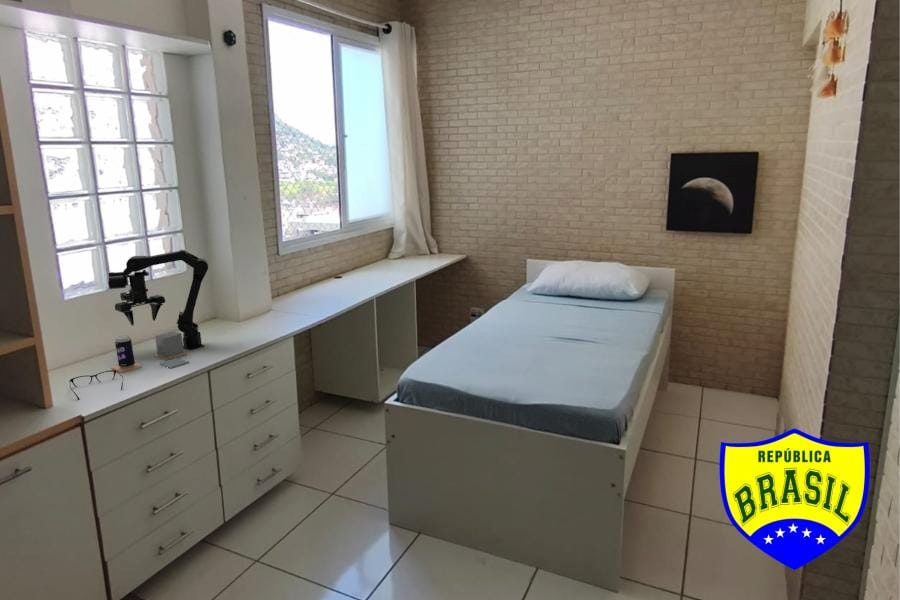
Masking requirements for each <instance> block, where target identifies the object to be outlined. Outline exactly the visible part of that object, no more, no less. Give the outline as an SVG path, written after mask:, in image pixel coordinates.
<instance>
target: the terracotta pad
mask: <svg viewBox="0 0 900 600" xmlns="http://www.w3.org/2000/svg"><path fill="white" fill-rule="evenodd" d="M142 367H143V365H141V364H139V363H136V362H135V364H134V365H133V366H132V367H129V368H121V367H120V366H119V364H118V365H116V366H111V370H116V371H118V372H119V373H120V374H122V373H125V372H129V371H133V370H136V369H140V368H142ZM118 372H117V373H118Z"/></svg>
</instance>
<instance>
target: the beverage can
mask: <svg viewBox="0 0 900 600" xmlns="http://www.w3.org/2000/svg"><path fill="white" fill-rule="evenodd" d="M114 343H115V349H116V350H115V351H116V355H117V356H116V357H117V364H118V365H119V366H120V367H121V368H129V367H132V366H133V365H134V364H135V363H136V362H135V356H134V354H135V353H134V349H133V342H132V338H131V336H129V335H120V336H119V335H118V336H117V337H115V341H114Z"/></svg>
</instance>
